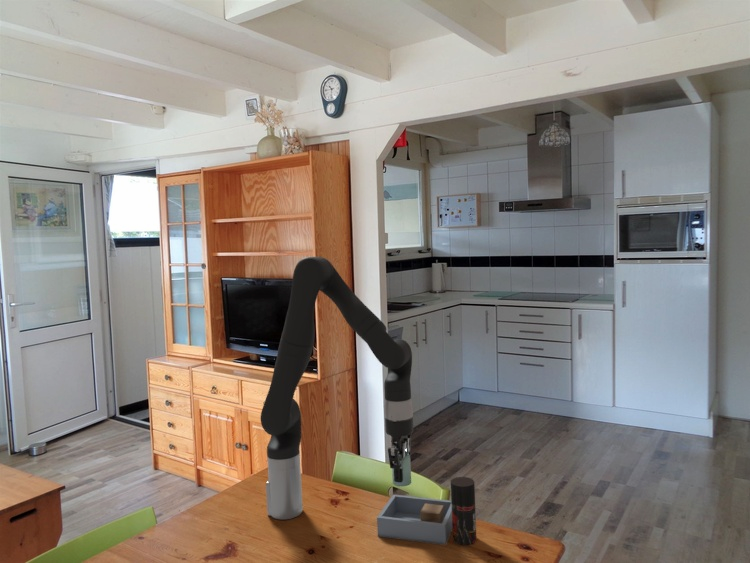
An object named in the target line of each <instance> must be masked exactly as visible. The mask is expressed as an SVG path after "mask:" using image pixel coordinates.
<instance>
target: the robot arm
mask: <svg viewBox="0 0 750 563" xmlns="http://www.w3.org/2000/svg"><path fill="white" fill-rule="evenodd" d="M319 292H321V293H323V294H324V295H325V296H326V297H327V298H329V299H330V300H331V301H332V302H333V303H334V304H335V305H336V307H337V308H338V310H339V312H340V313H341V315H342V317H343V318H344V320H345V321H346V323H347V325H348V326H349V327H350V328H351V329H352V330H353V331H354V332H355V334H357V336H359V337H360V339H361V340H363V341H364V342H365V343H366V344H367V346H368V348H369V349H370V351H371V352H372V354H373V356H375V358H376V360H377V361H378V362H379V363H380V364H382V366H384V367H385V368H387V375H386V377H385V380H384V382H383V383H384V384H383V387H384V406H383V407H384V427H385V434H386V435H388V436H390V437H392V438H391V442H390V447H388V448H387V455H388V460H389V461H388V462H389V467H390V469H392V468H394V481H395V482H402V481H403V469H402V467H403V466H402V465H403V459H404V458H405V454H408V455H410V456H411V455H412V433H413V432H414V412H413V411H414V409H413V408H414V407H413V401H412V390H411V375H412V368H413V367H412V365H413V352H412V348H411V345H410V344H409V343H408V342H407V341H406V340H405V339H402V338H398V339H397V338H396V339H393V338H392V337H391V336H390V334H389V333H388V332H387V327H386V325H385V323H384V322H383V321H382V320H381V319H380V318H379V317H378V316H377V315H376V314H375V313H374V312H373V311H372V310H371V309H369V308H368V306H367V305H366V304H364V302H363V301H362V300H361V299H360V298H359V297H358V296H357V295H356V294H355V293H354V291H353V290H352V289H351V288H350V286H348V284H347V283H346V282H345V281H344V279H343V277H342V276H341V275H340V274H339V272H338V271H337V269H336V268H335V267H334V265H333V264H332V263H331V261H329V259H327V258H325V257H322V256H306V257H303V258H300V260H299V261H298V262H297V263H296V265H295V267H294V270H293V275H292V282H291V292H290V298H289V303H288V309H287V312H286V316H285V319H284V320H285V321H284V326H283V330H282V332H281V336H280V337H281V338H280V341H279V343H278V344H279V345H278V349H277V355H276V359H275V364H274V369H273V372H272V378H271V382H270V386H269V388H268V389H269V390H268V392H267V395H266V397H265V400H264V404H263V406H262V409H261V412H260V424H261V427H262V429H263V430H264V432H265V433H266V434H267V435H270V440H269V442H268V444H267V446H266V460H267V474H268V475H267V476H268V480H267V481H266V482H265V494H266V511H267V515H268V516H270V517H271V518H272V519H275V520H291V519H294V518H297V517H298V516H301V514H302V513H303V509H304V508H303V490H302V475H301V474H302V472H301V471H302V470H301V457H300V456H301V455H300V445H301V441H302V413H301V408H300V406H299V403H298V402H297V401H296V399H294V395H295V393H296V390H297V387H298V385H299V382H300V381H301V379H302V377H303V376H304V373H305V372H306V369H307V367H308V364H309V362H310V360H311V358H312V357H311V355H312V352H313V349H314V343H315V336H316V332H315V330H316V329H315V321H314V311H315V306H316V302H317V299H318V295H319ZM399 454H401V456H399ZM396 462H397V464H396Z"/></svg>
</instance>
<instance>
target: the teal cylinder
mask: <svg viewBox="0 0 750 563" xmlns="http://www.w3.org/2000/svg"><path fill="white" fill-rule="evenodd" d="M399 456H401V454H399ZM396 464H397V462H396ZM411 465H412V464H411V455H408V454H405V458H404V459H403V465H402V466H403V467H402V469H403V481H402V482H395V481H394V468H391V472H392V484H393V485H394V486H396V487H407V486H410V485H411V484H412V470H411V469H412V468H411V467H412V466H411Z"/></svg>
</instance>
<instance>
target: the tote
mask: <svg viewBox="0 0 750 563" xmlns="http://www.w3.org/2000/svg"><path fill="white" fill-rule="evenodd" d="M425 503H426V504H435V505H443V509H444V520H443V522H442V523H434V522H426V521H421V514H420V512H421V510H422V508H423V506H424V505H425ZM376 524H377V525H376V527H377V528H376V529H377V537H382V538H389V539H397V540H402V541H403V540H404V541H411V542H412V541H413V542H417V541H418V543H424V542H427V543H426V544H432V543H434V545H439V544H442V545H441V546H446V545H447V544H448V541H449V539H450V537H449V536H451V534H452V532H453V529H452V504H451V500H448V499H437V498H428V497H419V496H418V497H417V496H409V495H402V494H392V496H391V497H390V498H389V500H388V501H387V502H386V504H385V505H384V507H383V508H382V510H381V511H380V513H379V514H378V515H377V517H376ZM451 531H452V532H451ZM446 543H447V544H446Z"/></svg>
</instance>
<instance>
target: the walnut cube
mask: <svg viewBox="0 0 750 563" xmlns="http://www.w3.org/2000/svg"><path fill="white" fill-rule="evenodd" d="M420 514H421V521H426V522H434V523H442V522H443V520H444V509H443V505H435V504H426V503H425V505H424V506H423V508H422V510H421V512H420Z"/></svg>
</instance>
